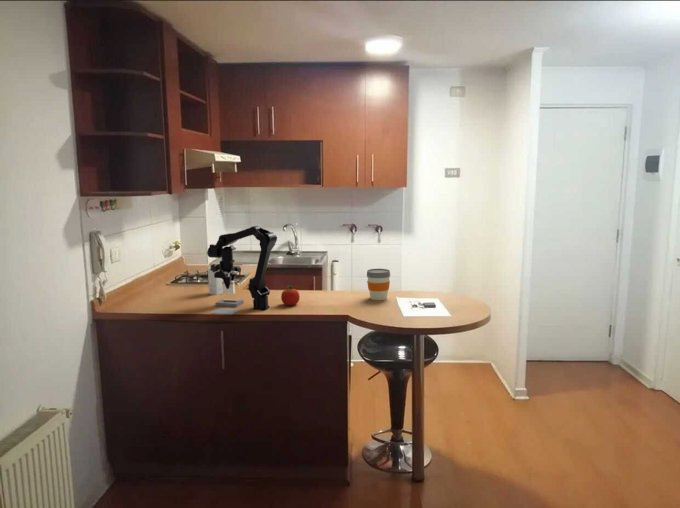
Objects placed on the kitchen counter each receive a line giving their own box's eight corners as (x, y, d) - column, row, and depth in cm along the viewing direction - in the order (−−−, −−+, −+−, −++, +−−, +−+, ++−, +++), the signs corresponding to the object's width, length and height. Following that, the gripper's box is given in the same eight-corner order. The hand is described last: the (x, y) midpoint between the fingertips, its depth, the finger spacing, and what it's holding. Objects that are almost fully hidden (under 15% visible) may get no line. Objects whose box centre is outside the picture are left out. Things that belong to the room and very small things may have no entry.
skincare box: (219, 291, 293) (217, 265, 291) (227, 292, 290) (226, 265, 287) (208, 294, 286) (206, 267, 284) (217, 295, 283) (215, 268, 280)
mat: (239, 310, 250) (239, 309, 250) (232, 315, 242) (232, 314, 242) (217, 309, 253) (217, 308, 253) (209, 313, 246) (209, 312, 245)
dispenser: (243, 303, 264) (243, 299, 263) (236, 307, 256) (236, 303, 255) (223, 302, 267) (222, 298, 266) (215, 306, 259) (215, 301, 259)
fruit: (283, 307, 254) (282, 288, 253) (280, 303, 263) (279, 284, 262) (301, 306, 257) (301, 287, 255) (298, 301, 266) (297, 283, 264)
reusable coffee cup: (363, 299, 268) (362, 272, 265) (372, 294, 279) (372, 267, 276) (384, 302, 262) (384, 273, 260) (393, 296, 273) (393, 269, 271)
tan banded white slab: (235, 293, 260) (234, 280, 259) (233, 293, 258) (232, 281, 257) (224, 292, 262) (223, 280, 261) (222, 293, 260) (222, 281, 259)
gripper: (221, 255, 268) (223, 283, 271) (203, 261, 251) (205, 291, 253) (240, 255, 265) (242, 284, 268) (223, 261, 248) (225, 292, 250)
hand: (228, 288), depth 260 cm, fingers closed on tan banded white slab, 2 cm apart
